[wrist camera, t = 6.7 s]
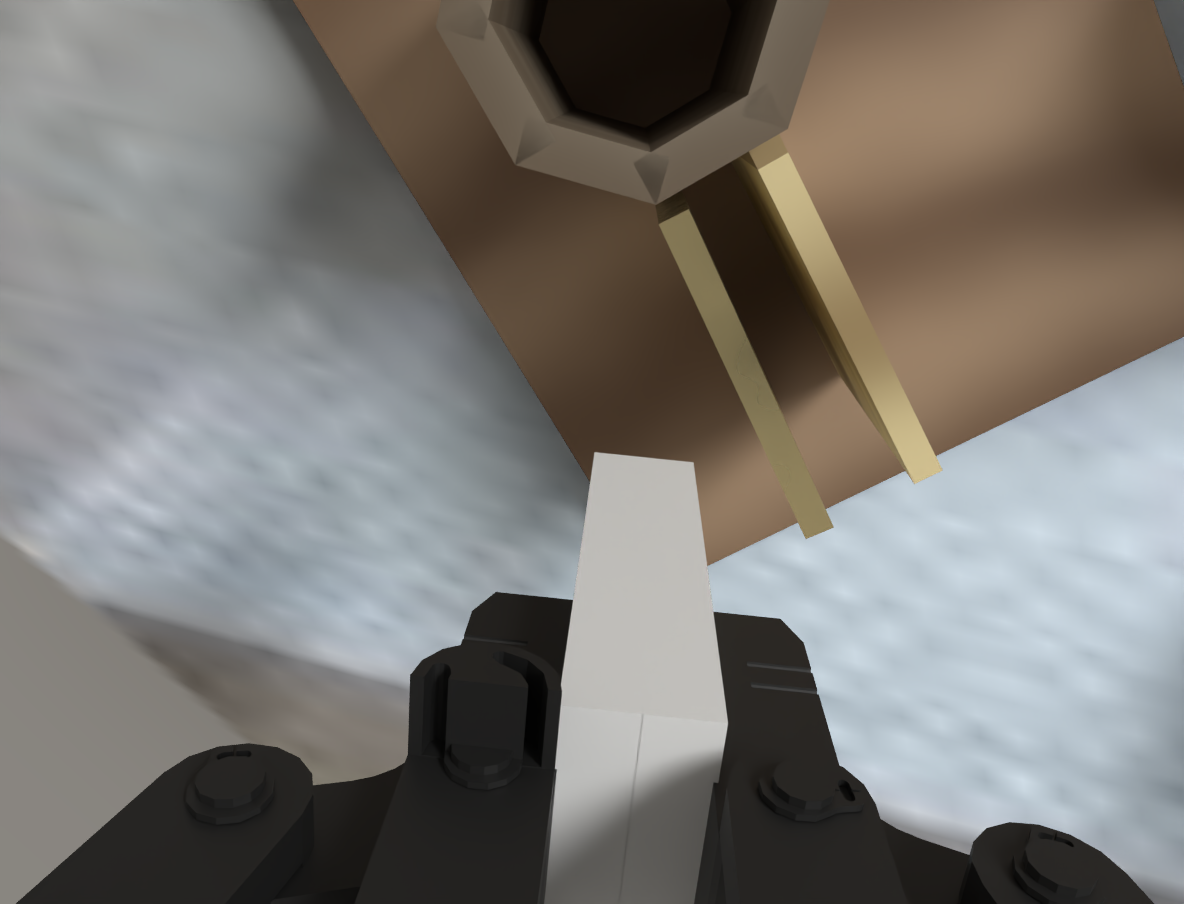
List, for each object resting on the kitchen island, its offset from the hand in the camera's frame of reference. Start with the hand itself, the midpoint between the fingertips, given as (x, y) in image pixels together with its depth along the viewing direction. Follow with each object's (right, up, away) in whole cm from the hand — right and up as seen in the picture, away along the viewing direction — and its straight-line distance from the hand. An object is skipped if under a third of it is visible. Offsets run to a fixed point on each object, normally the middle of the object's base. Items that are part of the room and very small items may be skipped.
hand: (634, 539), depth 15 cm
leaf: (+3, +5, +11) cm, 12 cm away
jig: (+3, +12, +10) cm, 16 cm away
